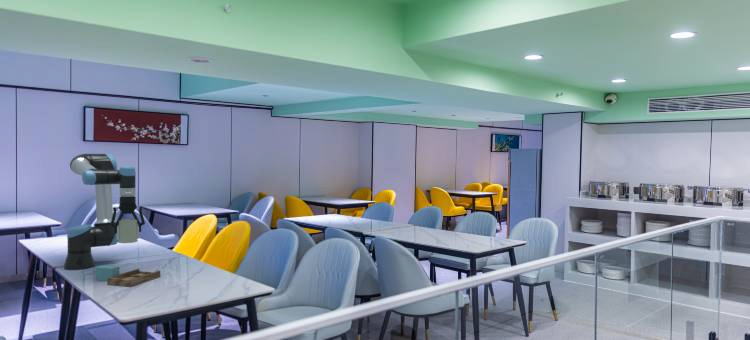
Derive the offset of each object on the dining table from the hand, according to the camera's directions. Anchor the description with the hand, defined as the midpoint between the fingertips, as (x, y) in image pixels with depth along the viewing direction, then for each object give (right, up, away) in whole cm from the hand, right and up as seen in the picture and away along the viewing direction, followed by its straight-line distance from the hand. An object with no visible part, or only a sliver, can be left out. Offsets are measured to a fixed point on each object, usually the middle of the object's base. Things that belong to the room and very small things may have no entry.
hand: (127, 239), depth 275 cm
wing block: (-8, -20, -5) cm, 23 cm away
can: (0, -2, 0) cm, 2 cm away
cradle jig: (+6, -21, -5) cm, 22 cm away
